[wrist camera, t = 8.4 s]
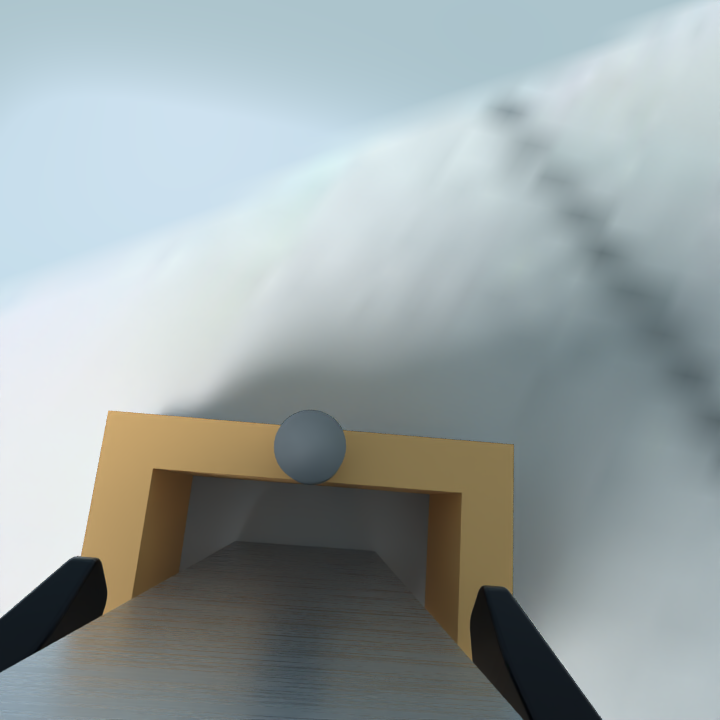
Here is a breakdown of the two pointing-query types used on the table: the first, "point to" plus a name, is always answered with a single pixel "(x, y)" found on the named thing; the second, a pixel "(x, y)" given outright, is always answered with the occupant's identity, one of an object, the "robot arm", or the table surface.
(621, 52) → the table surface
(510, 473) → the keeper bracket
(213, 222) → the table surface
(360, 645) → the rectangular block
